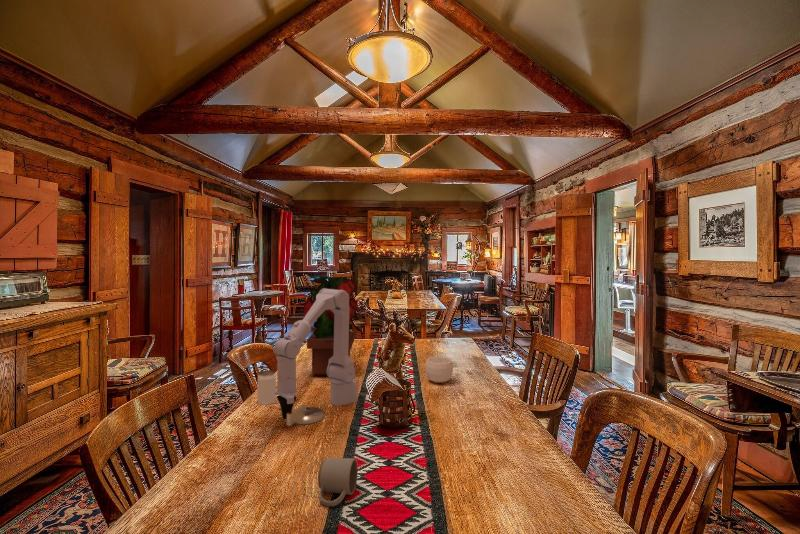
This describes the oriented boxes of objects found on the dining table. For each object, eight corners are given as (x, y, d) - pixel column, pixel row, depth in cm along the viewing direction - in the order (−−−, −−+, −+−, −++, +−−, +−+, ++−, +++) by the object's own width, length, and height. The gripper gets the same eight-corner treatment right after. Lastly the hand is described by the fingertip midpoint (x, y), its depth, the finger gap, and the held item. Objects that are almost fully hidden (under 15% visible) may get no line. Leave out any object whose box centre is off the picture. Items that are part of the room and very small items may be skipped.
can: (270, 408, 146) (270, 376, 145) (254, 407, 147) (254, 374, 147) (279, 402, 152) (279, 370, 152) (263, 400, 154) (263, 369, 153)
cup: (421, 384, 176) (421, 362, 175) (429, 376, 187) (429, 355, 187) (448, 387, 171) (449, 365, 171) (455, 379, 183) (456, 358, 183)
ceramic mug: (326, 479, 102) (326, 449, 101) (358, 482, 100) (358, 452, 100) (311, 506, 91) (311, 473, 91) (346, 510, 90) (346, 477, 89)
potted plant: (356, 366, 202) (358, 276, 200) (353, 380, 179) (354, 279, 178) (312, 365, 201) (312, 275, 199) (303, 380, 179) (303, 278, 177)
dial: (300, 408, 144) (300, 394, 143) (330, 413, 140) (330, 398, 139) (272, 426, 128) (272, 410, 128) (305, 432, 125) (305, 416, 124)
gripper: (270, 371, 134) (270, 411, 134) (277, 384, 121) (277, 429, 121) (292, 369, 137) (291, 408, 137) (301, 381, 124) (300, 425, 124)
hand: (286, 418), depth 129 cm, fingers closed
